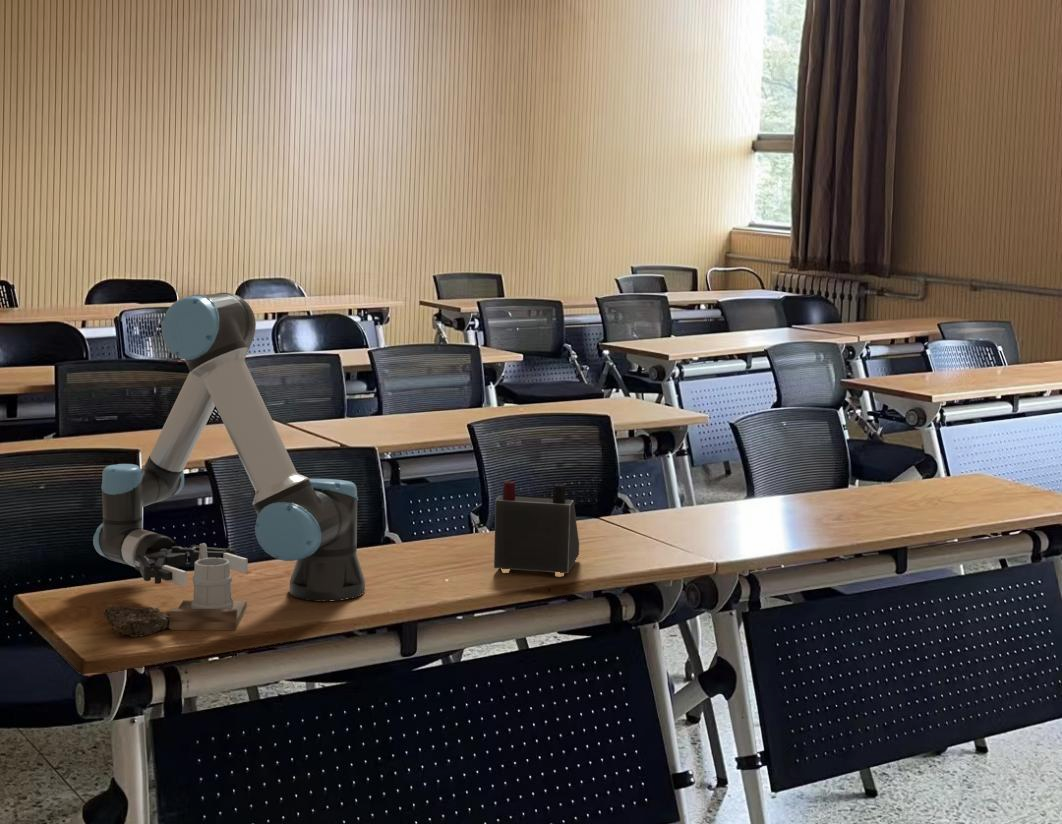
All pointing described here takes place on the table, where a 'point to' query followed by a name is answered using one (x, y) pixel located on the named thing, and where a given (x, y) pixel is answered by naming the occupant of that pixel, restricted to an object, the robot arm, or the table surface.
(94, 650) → the table surface
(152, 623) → the concrete sample
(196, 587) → the mug
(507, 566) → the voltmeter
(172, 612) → the rest board
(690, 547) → the table surface
